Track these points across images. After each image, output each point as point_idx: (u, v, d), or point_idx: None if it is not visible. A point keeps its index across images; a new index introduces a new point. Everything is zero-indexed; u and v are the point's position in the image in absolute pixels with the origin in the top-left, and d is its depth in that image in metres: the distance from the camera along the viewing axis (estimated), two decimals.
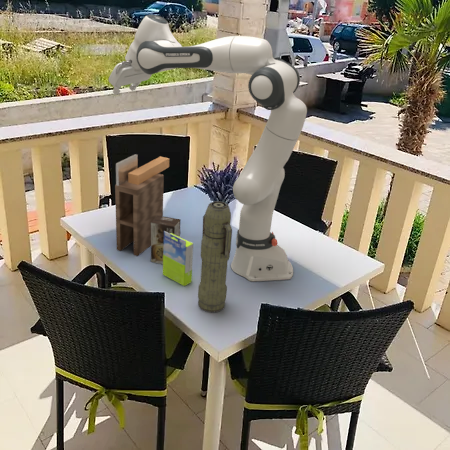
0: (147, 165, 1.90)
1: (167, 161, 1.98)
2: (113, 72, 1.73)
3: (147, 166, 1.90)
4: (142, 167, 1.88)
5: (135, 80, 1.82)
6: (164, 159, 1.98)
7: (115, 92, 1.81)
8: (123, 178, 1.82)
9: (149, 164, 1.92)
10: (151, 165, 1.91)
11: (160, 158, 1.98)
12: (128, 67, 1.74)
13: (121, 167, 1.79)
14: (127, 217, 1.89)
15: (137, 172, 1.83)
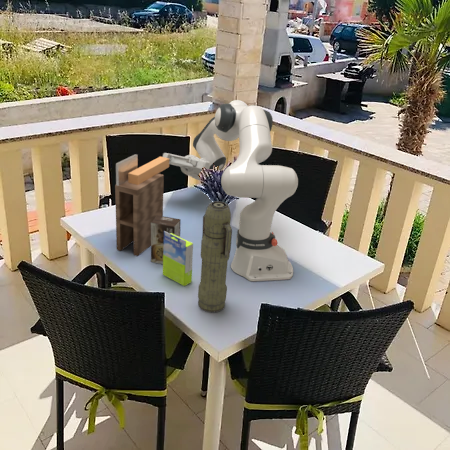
0: (147, 165, 1.90)
1: (167, 161, 1.98)
2: None
3: (147, 166, 1.90)
4: (142, 167, 1.88)
5: (186, 157, 2.17)
6: (164, 159, 1.98)
7: None
8: (123, 178, 1.82)
9: (149, 164, 1.92)
10: (151, 165, 1.91)
11: (160, 158, 1.98)
12: None
13: (121, 167, 1.79)
14: (127, 217, 1.89)
15: (137, 172, 1.83)
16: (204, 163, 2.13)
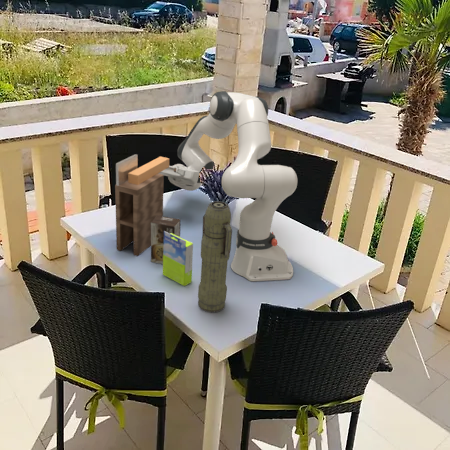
0: (147, 165, 1.90)
1: (167, 161, 1.98)
2: None
3: (147, 166, 1.90)
4: (142, 167, 1.88)
5: (174, 167, 2.07)
6: (164, 159, 1.98)
7: None
8: (123, 178, 1.82)
9: (149, 164, 1.92)
10: (151, 165, 1.91)
11: (160, 158, 1.98)
12: None
13: (121, 167, 1.79)
14: (127, 217, 1.89)
15: (137, 172, 1.83)
16: (192, 173, 2.03)
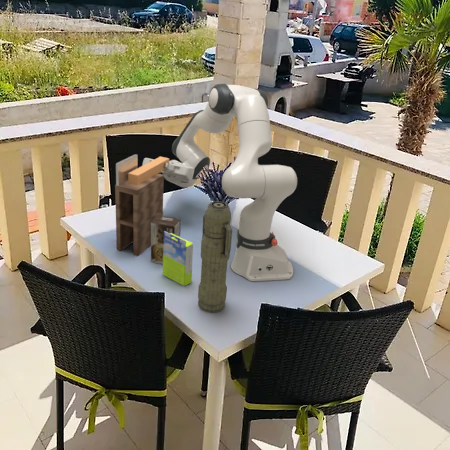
0: (147, 165, 1.90)
1: (167, 161, 1.98)
2: None
3: (147, 166, 1.90)
4: (142, 167, 1.88)
5: None
6: (164, 159, 1.98)
7: None
8: (123, 178, 1.82)
9: (149, 164, 1.92)
10: (151, 164, 1.91)
11: (160, 158, 1.98)
12: None
13: (121, 167, 1.79)
14: (127, 217, 1.89)
15: (137, 172, 1.83)
16: (187, 169, 1.98)
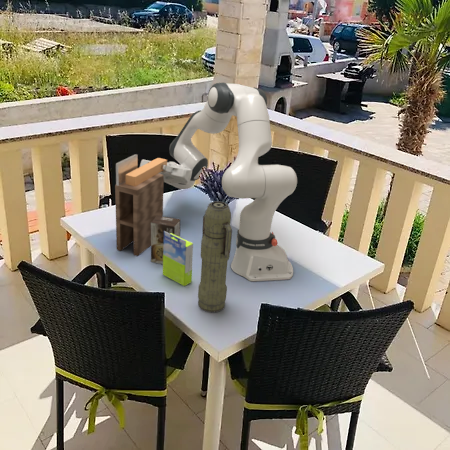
0: (144, 166, 1.89)
1: (165, 162, 1.97)
2: None
3: (144, 167, 1.88)
4: (139, 168, 1.87)
5: None
6: (162, 160, 1.96)
7: None
8: (123, 178, 1.82)
9: (147, 165, 1.90)
10: (148, 166, 1.90)
11: (158, 159, 1.97)
12: None
13: (121, 167, 1.79)
14: (127, 217, 1.89)
15: (134, 174, 1.82)
16: (185, 171, 1.97)
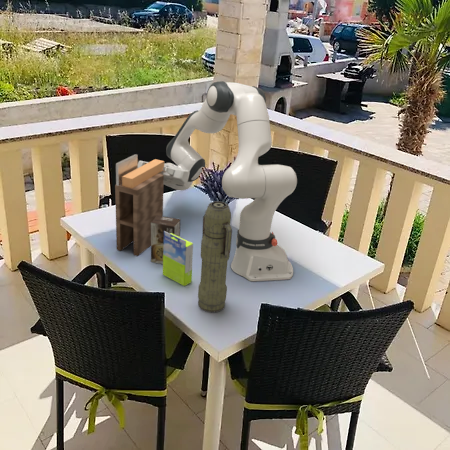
0: (141, 168, 1.87)
1: (162, 164, 1.95)
2: None
3: (141, 169, 1.87)
4: (136, 170, 1.85)
5: None
6: (159, 162, 1.94)
7: None
8: None
9: (144, 167, 1.88)
10: (145, 167, 1.88)
11: (155, 161, 1.95)
12: None
13: (121, 167, 1.79)
14: (127, 217, 1.89)
15: (131, 175, 1.80)
16: (182, 172, 1.95)
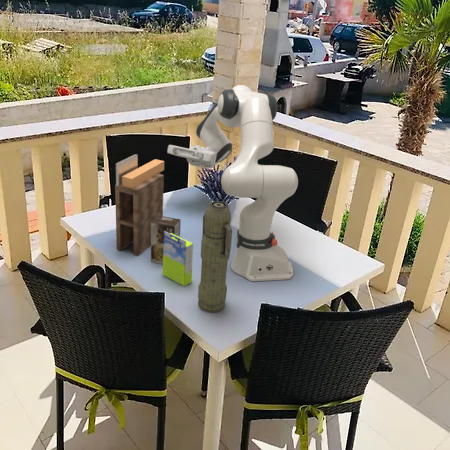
0: (141, 168, 1.87)
1: (162, 164, 1.95)
2: None
3: (141, 169, 1.87)
4: (136, 170, 1.85)
5: (192, 149, 2.12)
6: (159, 162, 1.94)
7: None
8: None
9: (144, 167, 1.88)
10: (145, 167, 1.88)
11: (155, 161, 1.95)
12: None
13: (121, 167, 1.79)
14: (127, 217, 1.89)
15: (131, 175, 1.80)
16: (210, 155, 2.08)
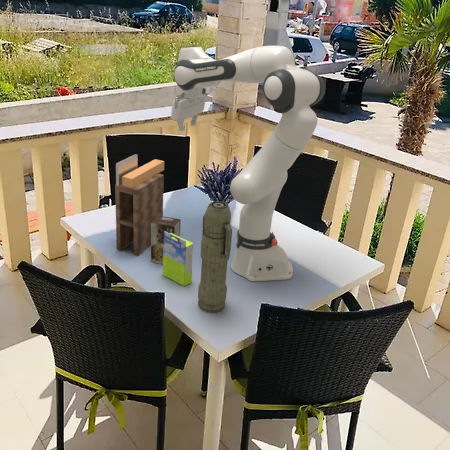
0: (141, 168, 1.87)
1: (162, 164, 1.95)
2: (173, 108, 1.85)
3: (141, 169, 1.87)
4: (136, 170, 1.85)
5: (193, 112, 1.94)
6: (159, 162, 1.94)
7: (181, 129, 1.92)
8: None
9: (144, 167, 1.88)
10: (145, 167, 1.88)
11: (155, 161, 1.95)
12: (183, 99, 1.86)
13: (121, 167, 1.79)
14: (127, 217, 1.89)
15: (131, 175, 1.80)
16: None
